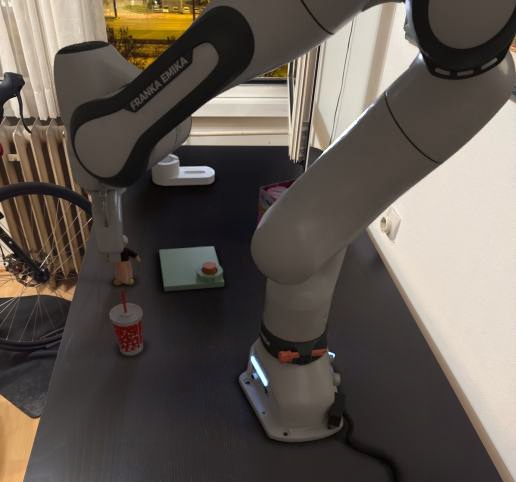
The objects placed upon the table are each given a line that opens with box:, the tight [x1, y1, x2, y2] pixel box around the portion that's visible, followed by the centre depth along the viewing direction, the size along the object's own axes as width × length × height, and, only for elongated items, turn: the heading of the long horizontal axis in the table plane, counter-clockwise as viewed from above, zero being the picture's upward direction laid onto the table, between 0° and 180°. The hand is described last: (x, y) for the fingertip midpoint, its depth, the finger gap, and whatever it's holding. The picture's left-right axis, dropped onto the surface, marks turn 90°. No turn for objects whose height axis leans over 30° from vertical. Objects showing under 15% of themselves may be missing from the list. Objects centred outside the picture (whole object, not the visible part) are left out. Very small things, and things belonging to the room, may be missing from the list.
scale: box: [158, 245, 225, 292], centre depth 117 cm, size 16×14×3 cm
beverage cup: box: [108, 290, 144, 356], centre depth 92 cm, size 6×6×14 cm
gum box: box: [256, 177, 299, 227], centre depth 131 cm, size 24×8×14 cm, turn 123°
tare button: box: [203, 261, 216, 275], centre depth 113 cm, size 3×3×2 cm
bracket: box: [151, 153, 216, 187], centre depth 153 cm, size 20×9×7 cm, turn 102°
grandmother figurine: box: [105, 234, 142, 286], centre depth 108 cm, size 8×4×13 cm, turn 105°
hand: (115, 248), depth 81 cm, fingers open, 6 cm apart
